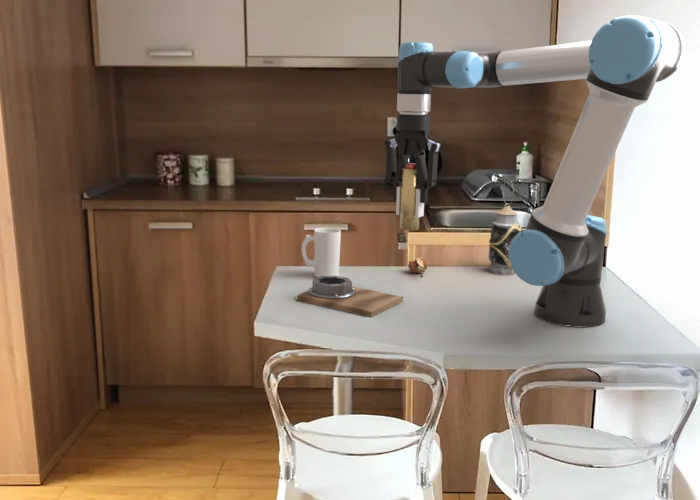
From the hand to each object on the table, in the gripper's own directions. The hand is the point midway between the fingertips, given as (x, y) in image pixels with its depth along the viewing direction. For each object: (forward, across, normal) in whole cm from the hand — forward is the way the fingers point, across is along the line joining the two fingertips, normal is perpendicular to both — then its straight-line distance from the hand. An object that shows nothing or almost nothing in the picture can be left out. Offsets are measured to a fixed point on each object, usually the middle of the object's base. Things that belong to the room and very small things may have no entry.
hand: (409, 215), depth 179 cm
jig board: (+19, +8, +12) cm, 24 cm away
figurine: (+20, +7, -19) cm, 29 cm away
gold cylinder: (+3, 0, 0) cm, 3 cm away
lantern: (+20, -10, -36) cm, 42 cm away
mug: (+19, +26, -2) cm, 33 cm away
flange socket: (+18, +13, +12) cm, 26 cm away
